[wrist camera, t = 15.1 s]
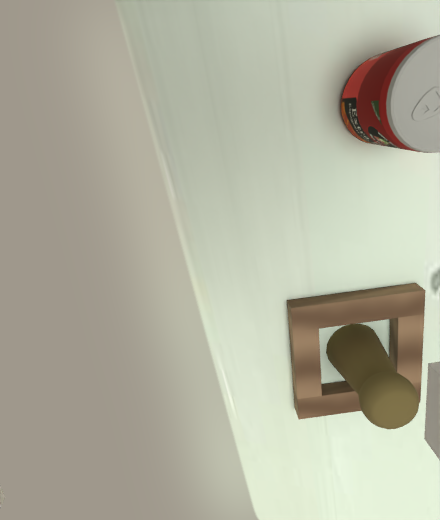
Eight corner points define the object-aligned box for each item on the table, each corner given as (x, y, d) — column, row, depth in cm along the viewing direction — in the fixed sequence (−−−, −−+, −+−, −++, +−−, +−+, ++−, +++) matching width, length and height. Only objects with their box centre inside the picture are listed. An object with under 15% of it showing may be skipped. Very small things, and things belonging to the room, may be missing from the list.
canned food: (321, 112, 39) (367, 111, 29) (378, 33, 37) (449, 2, 27) (381, 160, 41) (445, 176, 31) (438, 87, 39) (527, 78, 29)
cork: (360, 378, 49) (405, 448, 39) (316, 359, 48) (350, 426, 37) (389, 335, 47) (444, 398, 37) (344, 315, 46) (388, 373, 36)
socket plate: (286, 300, 45) (291, 308, 43) (415, 283, 45) (425, 290, 44) (294, 407, 50) (298, 419, 48) (411, 391, 50) (420, 402, 48)
